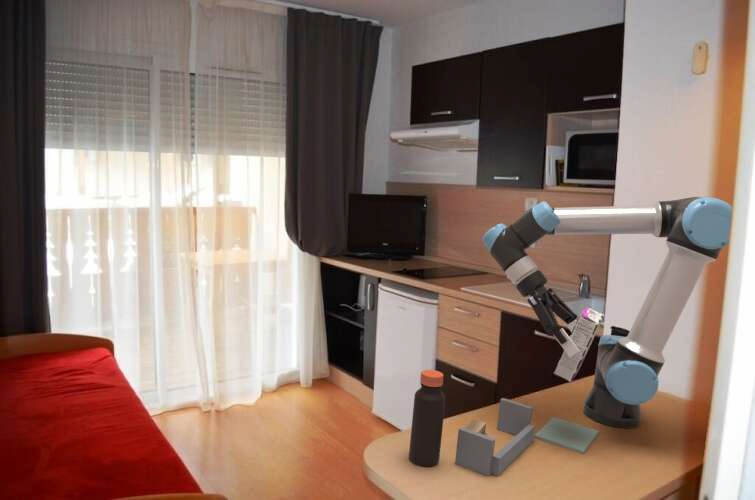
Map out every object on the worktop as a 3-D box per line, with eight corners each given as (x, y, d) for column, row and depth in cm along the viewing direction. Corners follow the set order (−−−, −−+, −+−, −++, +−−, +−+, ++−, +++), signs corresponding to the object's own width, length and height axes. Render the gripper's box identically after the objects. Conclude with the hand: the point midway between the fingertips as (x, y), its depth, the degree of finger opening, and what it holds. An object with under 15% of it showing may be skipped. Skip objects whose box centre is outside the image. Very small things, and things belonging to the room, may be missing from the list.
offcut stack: (485, 442, 136) (488, 423, 136) (475, 455, 129) (477, 435, 129) (470, 437, 138) (472, 418, 138) (458, 450, 131) (461, 430, 131)
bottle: (445, 461, 125) (454, 375, 123) (425, 470, 121) (434, 381, 118) (422, 449, 130) (430, 366, 127) (402, 457, 125) (410, 371, 123)
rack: (535, 439, 140) (538, 408, 139) (494, 478, 120) (499, 443, 118) (499, 427, 145) (502, 397, 144) (455, 463, 125) (458, 429, 124)
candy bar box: (560, 361, 147) (586, 306, 143) (578, 371, 145) (605, 315, 141) (551, 373, 137) (579, 313, 133) (571, 383, 135) (600, 323, 131)
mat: (598, 433, 147) (599, 431, 147) (583, 453, 134) (583, 451, 134) (553, 419, 153) (553, 417, 153) (534, 437, 141) (534, 435, 141)
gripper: (530, 280, 157) (581, 346, 150) (498, 291, 137) (555, 368, 131) (551, 264, 153) (604, 331, 147) (521, 273, 134) (581, 351, 127)
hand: (581, 348), depth 139 cm, fingers closed on candy bar box, 11 cm apart
